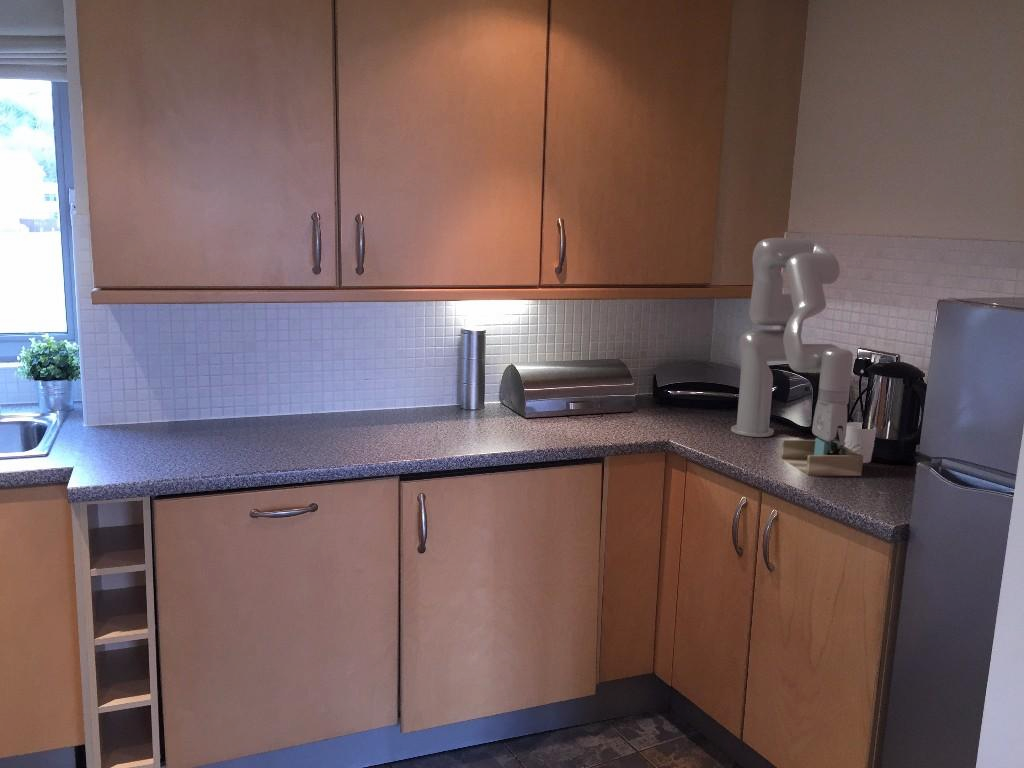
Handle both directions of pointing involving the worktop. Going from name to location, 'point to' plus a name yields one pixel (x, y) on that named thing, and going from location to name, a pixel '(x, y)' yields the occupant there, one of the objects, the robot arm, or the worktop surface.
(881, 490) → the worktop surface
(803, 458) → the birch box
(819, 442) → the teal block
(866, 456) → the white cup
